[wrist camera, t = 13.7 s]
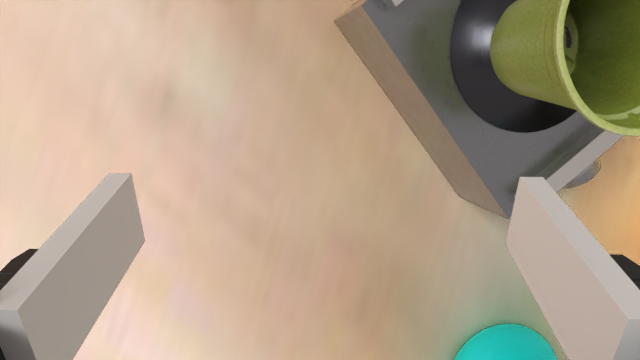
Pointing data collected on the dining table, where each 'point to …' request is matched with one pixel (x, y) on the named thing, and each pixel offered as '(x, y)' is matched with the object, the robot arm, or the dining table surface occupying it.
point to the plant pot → (574, 57)
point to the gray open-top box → (470, 99)
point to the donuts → (506, 345)
